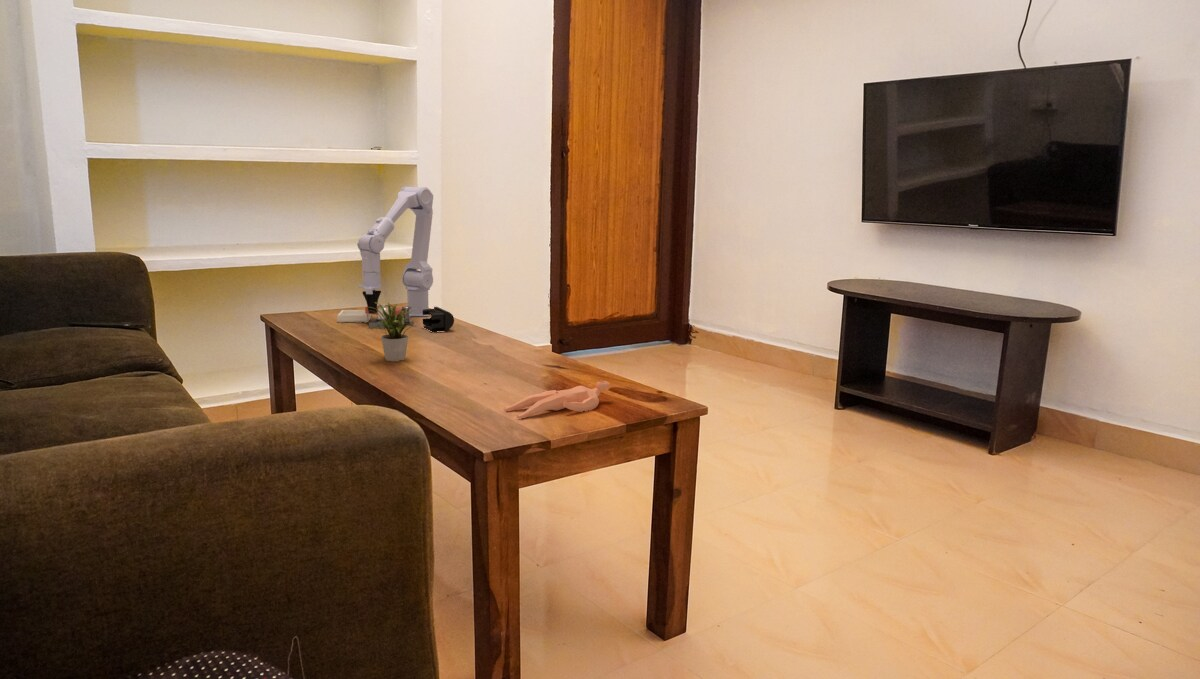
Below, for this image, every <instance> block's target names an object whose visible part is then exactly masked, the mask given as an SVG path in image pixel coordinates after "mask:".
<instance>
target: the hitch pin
mask: <svg viewBox="0 0 1200 679" xmlns="http://www.w3.org/2000/svg"><path fill="white" fill-rule="evenodd" d="M381 305H382V307H383V308H384V310H385V312H386V313H387V314H388V315H389V312H388V306H386V303H382V304H381ZM377 308H378V310H379V311H380V312H381V313H382V314H383V311H382V309H381V307H380V306H379V307H378V306H377ZM380 312H378V314H379V315H380V316H379V315H378V314H377V318H378V322H381V321H386V320H387V319H386V320H385V319H384V317H385V316H384V314H383V316H384V317H383V316H382V315H381V314H380ZM380 317H381V318H382V319H383V320H382V319H381V318H380ZM385 318H386V317H385ZM386 322H387V321H386Z"/></svg>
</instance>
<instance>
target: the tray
mask: <svg viewBox="0 0 1200 679" xmlns="http://www.w3.org/2000/svg"><path fill="white" fill-rule="evenodd" d="M336 316H337V323H338V322H339V324H342V322H356V323H355V324H357V323H358V324H359V322H360V324H364V323H365V324H366V323H367V322H368V323H369V321H371V320H370V319H372V314H365V309H364V310H363V309H342V310H340V312H339V313H338V314H337V315H336ZM362 322H364V323H362ZM368 323H367V324H368Z"/></svg>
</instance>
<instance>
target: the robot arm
mask: <svg viewBox="0 0 1200 679" xmlns="http://www.w3.org/2000/svg"><path fill="white" fill-rule="evenodd" d="M433 201H434V194H433V193H432V192H431V190H430V189H429V188H428V187H427V186H421V187H420V186H408V185H405V186H403V187H401V189H400V191H399V192H398V193H397V198H396V200H395V202H394V203H393V204H392V206H391V207H390V209H389V210H388V212H387V213H386V214H385V216H381V217H378V218H376V219H375V222H374V224H373V225H372V227H371V228H370V229H369V230H368V231H367V233H365V234H362V235H361V236H360V237H359V239H358V242H357V243H356V246H357V248H358V250H359V254H360V257H361V272H362V273H361V274H362V275H361V276H362V277H361V278H362V280H361V281H362V284H358V287H359V288H362V289H363V290H364V291H363V290H362V295H363V297H364V299H365V301H366V307H368V311H369V313H375V312H376V309H377V308H378V304H379V303H378V302H379V298H380V295H381V293H382V291H381V290H378V289H381V288H382V281H381V280H382V279H381V277H382V276H381V272H382V271H381V252H382V251H383V250H384V248H385V242H386V240H387V238H388V237H389V236H390V235H391V233H392V232H394V230H395V223H396V222H397V221H398V220H399V218H400V217H401V216H402V215H403V214H404V213H405V212H406V211H407V210H408V209H410V211H412V212H413V213H414V215H415V221H414V222H415V223H414V232H413V239H412V240H413V241H412V248H411V250H412V251H411V257H410V258H411V259H410V261H409V262H408V263H406V265H405V266H404V271H403V273H402V275H401V281H402V282H401V283H402V284H403V286H405V290H406V296H407V298H406V300H407V305H406V306H409V307H411V309H410V310H409V313H410V312H411V311H412V310H413V311H412V312H411V313H410V314H409V316H411V317H430V315H423V310H424V309H430V308H429V291H430V290H431V287H432V286H433V283H434V276H433V268H432V267H431V266H430V264H429V263H428V260H429V259H428V258H429V248H430V240H431V231H432V222H433V221H432V220H433V214H434V213H433V203H434V202H433ZM375 302H376V303H375ZM377 303H378V304H377ZM370 307H372V308H370ZM417 307H419V308H417ZM374 308H375V309H374ZM415 308H416V309H415ZM414 309H415V310H414Z"/></svg>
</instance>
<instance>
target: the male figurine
mask: <svg viewBox="0 0 1200 679" xmlns="http://www.w3.org/2000/svg"><path fill="white" fill-rule="evenodd" d="M594 385H595V387H594V388H590V387H587V386H584V385H577V386H574V387H572V388H569V389H567V388H566V389H562V390H556V389H553V390H546V391H545V390H543V392H540V393H536V394H528V395H526V396H525V397H523V398H522V399H520V400H518V401H517V402H515V403H514V404H512V405H508V406H506V407H504V408H503V410H504V412H505V411H510V412H513V411H516V410H521V409H525V408H528V409H526V410H525V411H523V412H521V413H519V414H517V415H516V419H517V418H519V419H521V418H524V419H525V418H528V417H531V416H534V415H537V414H540V413H542V412H544V411H549V410H551V411H554V412H557V411H562V410H564V409H568V410H571V411H575V412H581V413H584V412H583V411H585V412H589V411H591V410H594V409H596V408H597V407H598V405H599V402H600V399H599V395H601V392H602V390H607V389H608V390H609V388H610V387H611V386H610V382H609V381H607V380H602V379H601V380H600V381H598V382H596V383H595V384H594ZM588 410H589V411H588ZM519 419H518V420H519ZM521 420H522V419H521Z"/></svg>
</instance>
